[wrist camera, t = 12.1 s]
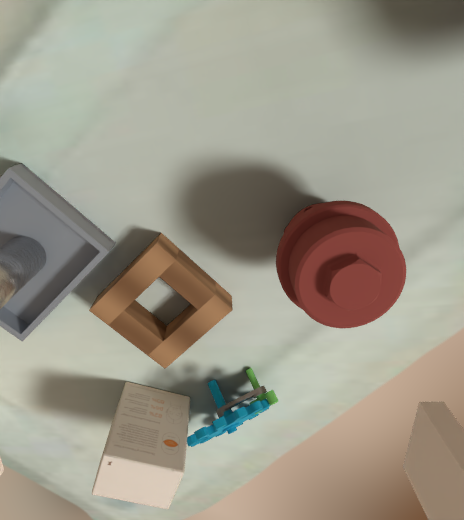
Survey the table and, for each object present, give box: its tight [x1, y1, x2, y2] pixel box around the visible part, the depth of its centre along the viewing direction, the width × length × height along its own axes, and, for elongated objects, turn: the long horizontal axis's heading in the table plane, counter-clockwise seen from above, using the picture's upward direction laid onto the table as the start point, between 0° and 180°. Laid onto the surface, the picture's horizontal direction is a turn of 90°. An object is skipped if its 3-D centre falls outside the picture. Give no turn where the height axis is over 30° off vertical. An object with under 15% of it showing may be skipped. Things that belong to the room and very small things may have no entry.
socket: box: [89, 233, 232, 368], centre depth 41 cm, size 10×10×3 cm
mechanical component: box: [276, 201, 406, 328], centre depth 34 cm, size 12×10×10 cm
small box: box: [92, 382, 190, 509], centre depth 43 cm, size 8×6×10 cm
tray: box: [0, 163, 115, 342], centre depth 39 cm, size 14×11×2 cm
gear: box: [187, 368, 278, 447], centre depth 45 cm, size 11×6×10 cm
